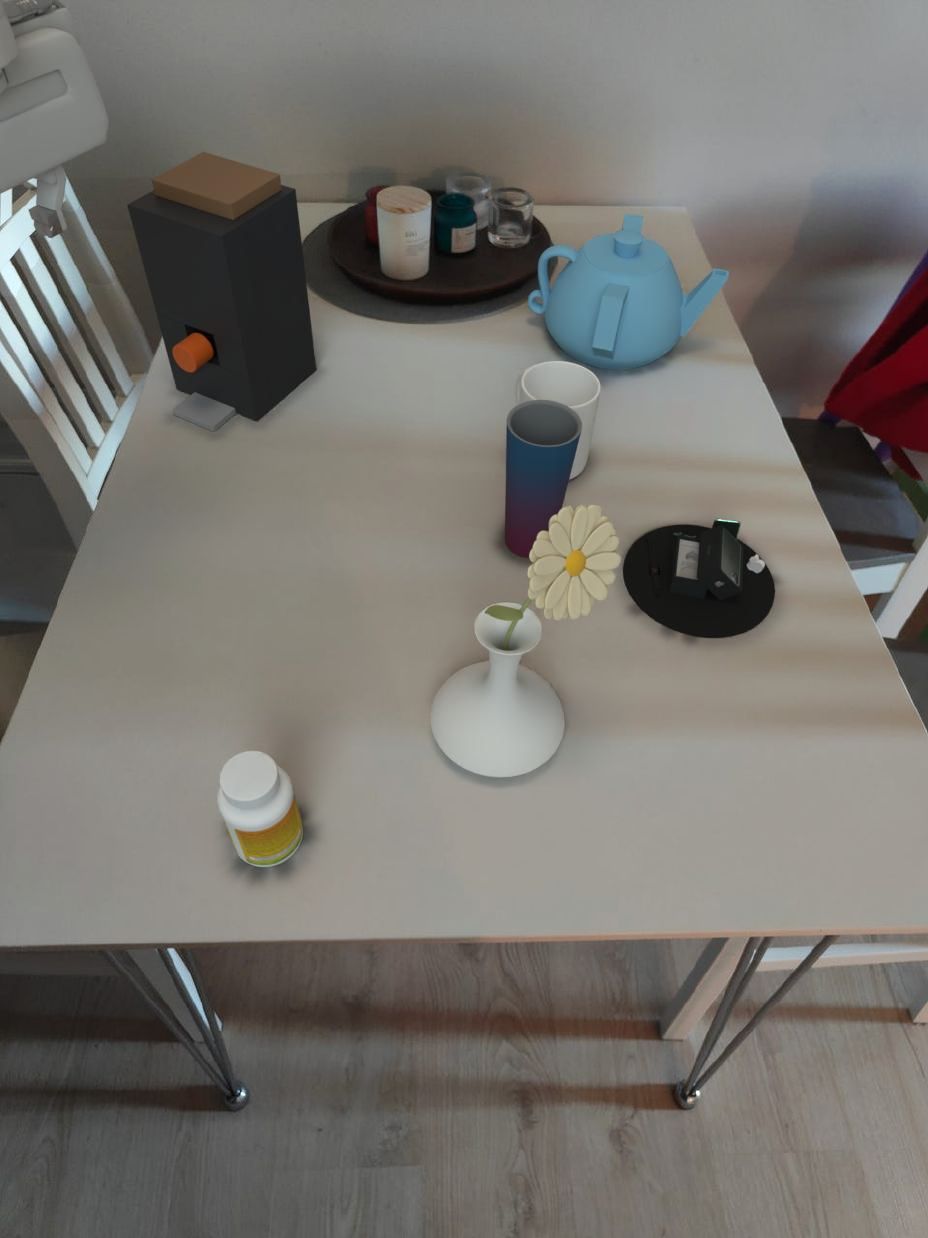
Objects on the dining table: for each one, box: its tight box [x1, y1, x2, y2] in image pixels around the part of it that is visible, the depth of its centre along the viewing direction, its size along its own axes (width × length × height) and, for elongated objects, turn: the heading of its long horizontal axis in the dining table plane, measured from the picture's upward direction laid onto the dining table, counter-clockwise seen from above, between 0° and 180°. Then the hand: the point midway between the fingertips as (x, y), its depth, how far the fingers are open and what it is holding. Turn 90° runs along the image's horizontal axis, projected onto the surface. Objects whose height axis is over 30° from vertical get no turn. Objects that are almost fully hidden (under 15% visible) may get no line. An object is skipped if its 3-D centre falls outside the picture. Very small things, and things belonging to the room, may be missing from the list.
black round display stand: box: [622, 518, 776, 639], centre depth 83 cm, size 15×15×6 cm
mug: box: [515, 360, 602, 481], centre depth 93 cm, size 12×8×10 cm
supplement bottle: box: [216, 750, 304, 868], centre depth 63 cm, size 5×5×10 cm
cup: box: [504, 400, 582, 559], centre depth 82 cm, size 7×7×15 cm
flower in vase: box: [429, 503, 622, 778], centre depth 64 cm, size 13×11×25 cm
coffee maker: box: [126, 151, 317, 432], centre depth 94 cm, size 16×12×24 cm
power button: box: [172, 333, 213, 372], centre depth 93 cm, size 3×3×3 cm
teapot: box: [527, 213, 730, 370], centre depth 108 cm, size 19×19×14 cm
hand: (16, 252), depth 61 cm, fingers open, 5 cm apart
